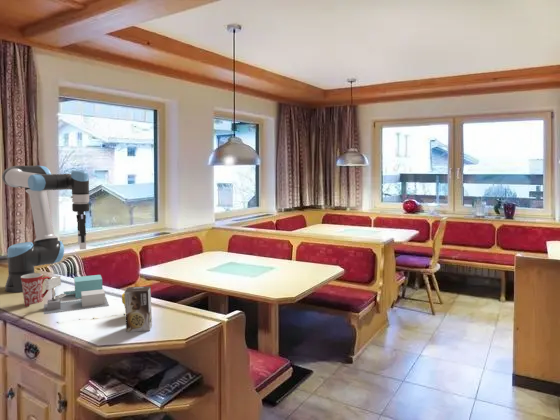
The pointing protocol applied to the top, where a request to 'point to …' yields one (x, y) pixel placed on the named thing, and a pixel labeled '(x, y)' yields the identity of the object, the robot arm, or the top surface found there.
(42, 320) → the top surface
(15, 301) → the top surface
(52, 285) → the grey flat angled piece
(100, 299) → the housing
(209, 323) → the top surface
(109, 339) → the top surface
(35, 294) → the mug
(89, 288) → the cover
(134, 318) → the cookie box
